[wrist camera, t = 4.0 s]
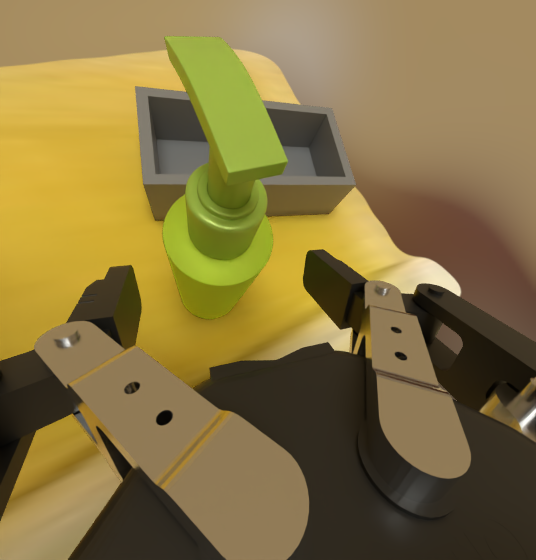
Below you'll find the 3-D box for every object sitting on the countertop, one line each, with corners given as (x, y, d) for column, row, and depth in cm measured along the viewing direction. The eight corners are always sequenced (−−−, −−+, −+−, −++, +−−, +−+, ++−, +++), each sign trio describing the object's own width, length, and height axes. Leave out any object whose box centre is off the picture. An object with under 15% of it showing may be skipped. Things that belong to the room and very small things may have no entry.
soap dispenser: (222, 248, 27) (275, 20, 8) (247, 306, 26) (368, 189, 7) (168, 264, 25) (81, 11, 6) (192, 328, 24) (170, 242, 5)
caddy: (155, 220, 26) (143, 184, 20) (147, 138, 28) (135, 86, 23) (328, 213, 32) (356, 184, 27) (310, 147, 35) (332, 108, 29)
